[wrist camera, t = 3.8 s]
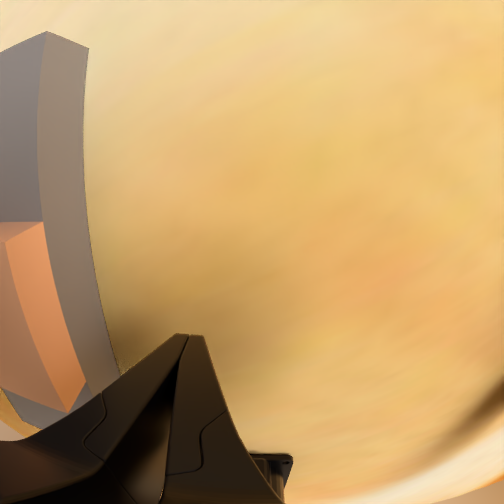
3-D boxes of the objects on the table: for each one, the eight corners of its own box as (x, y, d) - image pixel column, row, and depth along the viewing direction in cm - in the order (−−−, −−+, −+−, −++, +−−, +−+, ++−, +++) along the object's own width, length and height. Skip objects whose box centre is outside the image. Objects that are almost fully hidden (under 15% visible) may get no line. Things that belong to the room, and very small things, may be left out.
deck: (135, 419, 16) (122, 455, 13) (39, 392, 16) (22, 420, 13) (88, 48, 8) (47, 31, 6) (-24, 91, 8) (-63, 92, 6)
